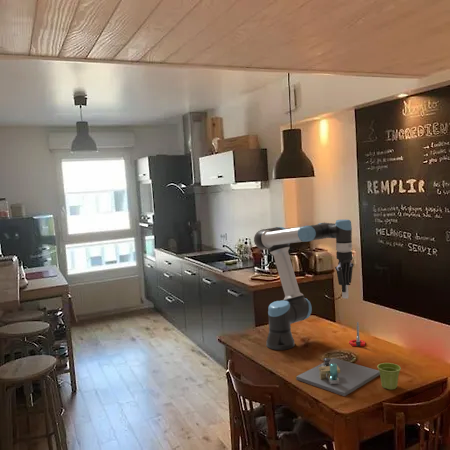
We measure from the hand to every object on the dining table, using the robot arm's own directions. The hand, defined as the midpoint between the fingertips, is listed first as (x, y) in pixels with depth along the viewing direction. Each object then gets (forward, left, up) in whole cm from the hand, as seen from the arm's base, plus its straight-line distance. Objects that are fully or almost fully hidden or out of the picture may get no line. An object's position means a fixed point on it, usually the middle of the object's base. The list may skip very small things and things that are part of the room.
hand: (345, 298), depth 235 cm
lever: (+10, -29, -27) cm, 41 cm away
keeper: (+11, -31, -28) cm, 43 cm away
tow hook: (-5, +18, -30) cm, 35 cm away
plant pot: (+33, -19, -30) cm, 48 cm away
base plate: (+12, -24, -29) cm, 40 cm away
